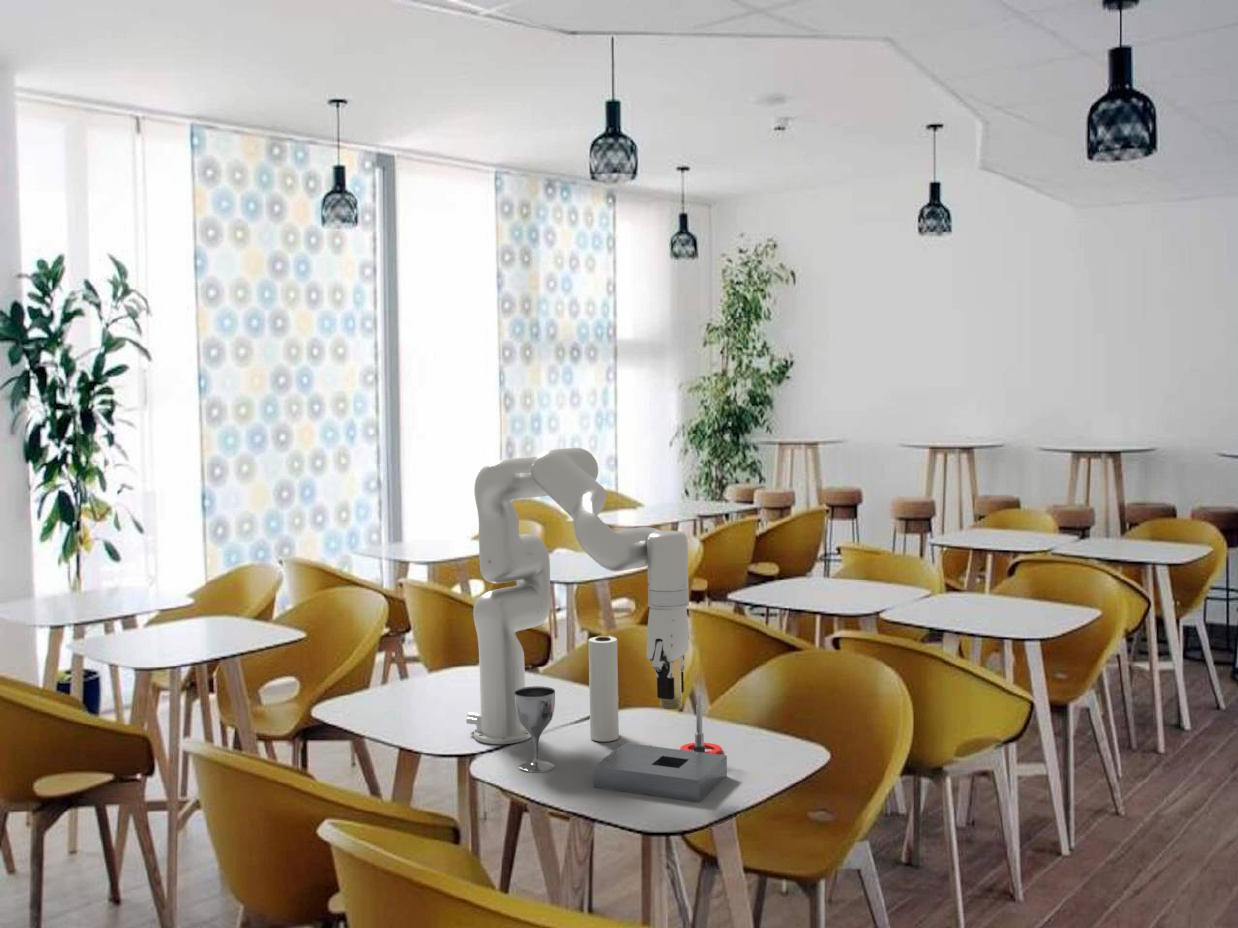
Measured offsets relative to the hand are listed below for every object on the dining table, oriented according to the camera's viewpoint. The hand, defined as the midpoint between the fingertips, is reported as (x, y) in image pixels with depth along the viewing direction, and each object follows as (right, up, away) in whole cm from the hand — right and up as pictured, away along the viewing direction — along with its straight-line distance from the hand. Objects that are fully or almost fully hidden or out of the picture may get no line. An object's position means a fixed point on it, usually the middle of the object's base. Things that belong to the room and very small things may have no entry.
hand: (670, 694), depth 220 cm
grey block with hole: (-2, -17, +2) cm, 17 cm away
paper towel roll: (-12, -15, +30) cm, 36 cm away
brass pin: (0, -2, 0) cm, 2 cm away
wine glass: (-26, -17, +12) cm, 33 cm away
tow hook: (+7, -16, +19) cm, 26 cm away
